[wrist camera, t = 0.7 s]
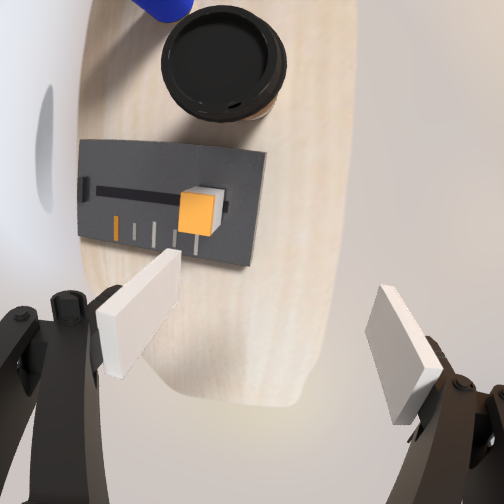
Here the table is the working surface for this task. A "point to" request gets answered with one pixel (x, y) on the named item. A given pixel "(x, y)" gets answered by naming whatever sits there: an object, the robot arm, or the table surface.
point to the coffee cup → (224, 64)
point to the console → (168, 195)
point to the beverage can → (166, 9)
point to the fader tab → (200, 210)
